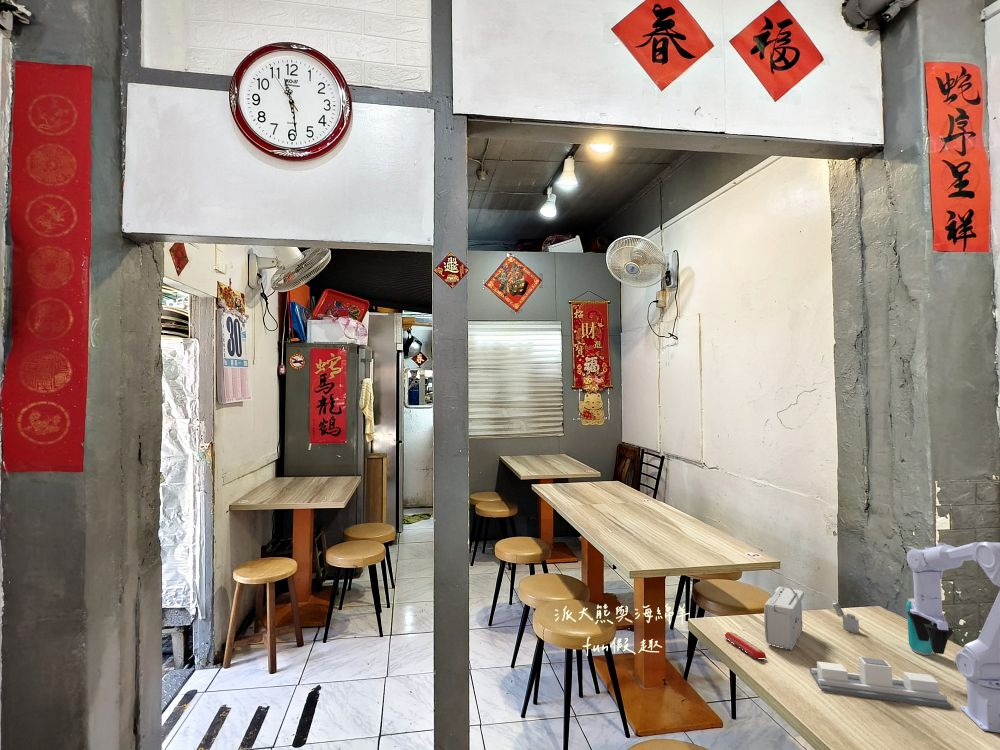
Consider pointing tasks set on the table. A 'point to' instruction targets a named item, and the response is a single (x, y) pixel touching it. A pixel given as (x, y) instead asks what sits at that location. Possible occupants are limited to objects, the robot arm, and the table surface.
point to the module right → (920, 683)
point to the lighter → (847, 619)
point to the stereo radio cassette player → (783, 617)
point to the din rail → (880, 691)
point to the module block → (875, 672)
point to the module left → (832, 671)
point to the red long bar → (745, 645)
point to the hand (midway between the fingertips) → (930, 646)
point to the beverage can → (914, 642)
